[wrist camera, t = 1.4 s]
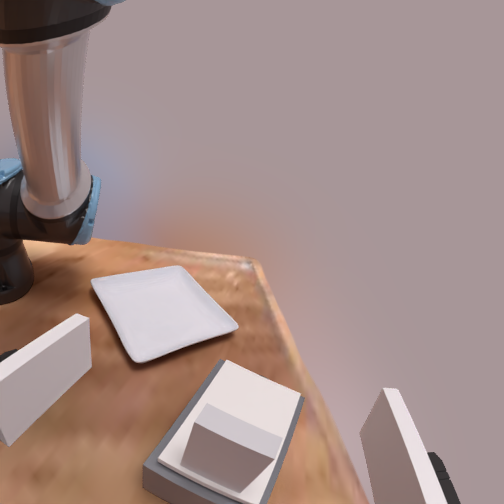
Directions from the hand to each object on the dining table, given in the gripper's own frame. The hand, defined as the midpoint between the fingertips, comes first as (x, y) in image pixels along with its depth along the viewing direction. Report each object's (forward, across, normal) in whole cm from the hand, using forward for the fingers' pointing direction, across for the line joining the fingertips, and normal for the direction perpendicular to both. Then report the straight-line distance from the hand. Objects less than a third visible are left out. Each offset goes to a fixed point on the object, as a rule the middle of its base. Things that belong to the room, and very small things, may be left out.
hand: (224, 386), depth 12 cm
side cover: (+14, +1, -16) cm, 21 cm away
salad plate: (+38, -17, -18) cm, 46 cm away
